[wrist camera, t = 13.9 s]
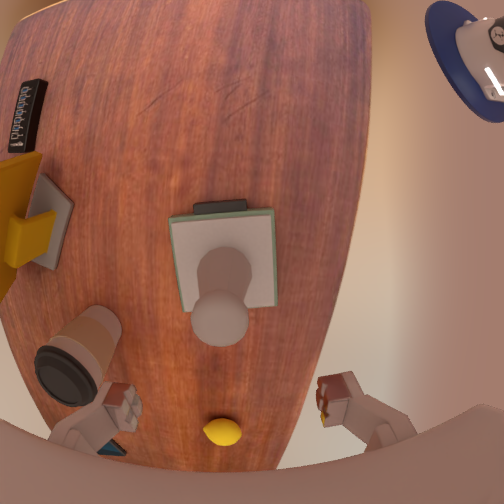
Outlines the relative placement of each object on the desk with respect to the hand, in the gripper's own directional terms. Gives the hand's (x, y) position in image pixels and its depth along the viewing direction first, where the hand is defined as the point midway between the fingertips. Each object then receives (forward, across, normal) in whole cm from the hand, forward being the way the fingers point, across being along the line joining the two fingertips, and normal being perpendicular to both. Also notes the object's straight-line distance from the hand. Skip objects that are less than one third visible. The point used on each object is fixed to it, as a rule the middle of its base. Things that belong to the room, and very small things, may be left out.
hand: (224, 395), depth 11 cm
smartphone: (+23, +40, +48) cm, 66 cm away
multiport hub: (+24, +29, -22) cm, 44 cm away
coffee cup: (+24, +21, +11) cm, 34 cm away
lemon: (+24, +5, +33) cm, 41 cm away
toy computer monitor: (+24, +27, -5) cm, 36 cm away
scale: (+24, +1, +2) cm, 24 cm away
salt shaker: (+21, +1, +2) cm, 21 cm away
